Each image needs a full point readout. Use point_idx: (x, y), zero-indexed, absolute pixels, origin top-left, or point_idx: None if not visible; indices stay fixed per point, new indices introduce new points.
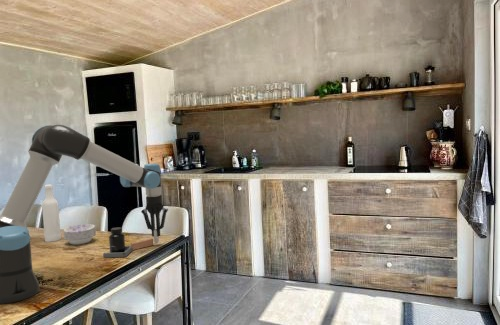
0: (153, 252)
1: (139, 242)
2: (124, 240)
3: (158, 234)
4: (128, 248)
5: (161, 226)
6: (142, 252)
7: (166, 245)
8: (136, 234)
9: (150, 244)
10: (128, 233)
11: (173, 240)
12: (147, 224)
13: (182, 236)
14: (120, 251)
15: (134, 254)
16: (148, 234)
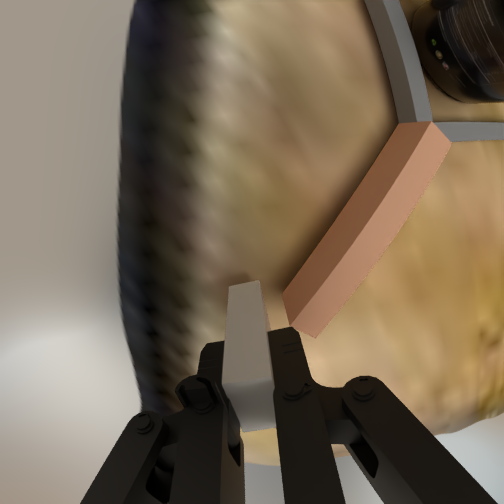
0: (165, 88)
1: (389, 186)
2: (481, 21)
3: (214, 357)
4: (416, 58)
5: (137, 439)
6: (277, 71)
7: (160, 301)
8: (448, 423)
9: (301, 274)
10: (476, 417)
11: None
12: (405, 433)
13: None
14: (428, 2)
15: (320, 20)
16: None
